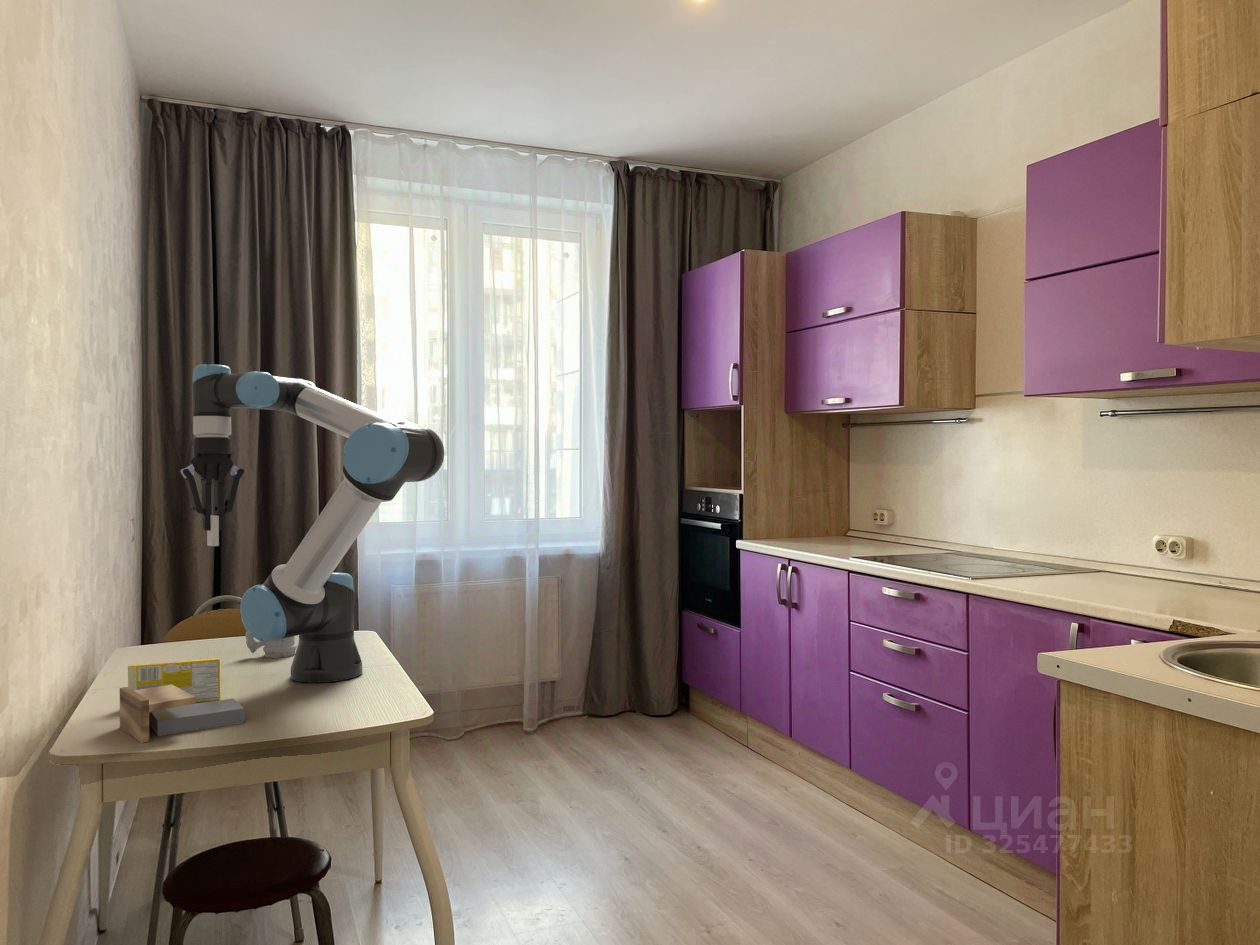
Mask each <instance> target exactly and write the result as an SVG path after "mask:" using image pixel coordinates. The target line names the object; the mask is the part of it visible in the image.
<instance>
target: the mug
mask: <svg viewBox="0 0 1260 945" xmlns="http://www.w3.org/2000/svg"><path fill="white" fill-rule="evenodd" d="M244 636H245V637H244V638H245V640H246V641H245V642H246V646H247V647H246V648H247V649H249V651H250V653H252V654H255V653H256V651H257V650H258V649H260V648H261V647H262V649H263V652H264V657H266V658H272V659H274V658H275V659H276V658H277V659H279V658H281V659H282V658H287V657H291V656H295V653H296V650H297V647H298V644H296V642H295V639H296V636H293V637H289V638H285V639H281V640H279V641H269V642H264V641H259V640H257V639H255V638H254V637H252V636H251V635H250V634H249V632H248V631H247V630H246V631H245V633H244Z"/></svg>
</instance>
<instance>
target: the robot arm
mask: <svg viewBox="0 0 1260 945" xmlns="http://www.w3.org/2000/svg"><path fill="white" fill-rule="evenodd" d="M231 371H232V369H231V368H230V366H227V365H223V364H212V363H211V364H206V363H205V364H198V365H196V366H194V368H193V372H192V374H193V375H192V383H191V387H192V409H193V410H192V416H193V417H192V421H193V424H192V426H193V427H192V428H193V429H192V430H193V431H192V433H193V435H194V436H195V437H194V438H193V440H192V446H193V447H192V450H193V454H192V460H191V461H190V465H188V466H186V467H185V468H181V469H180V470H179V474H180V475H181V476H182V478H183V479H184V482H185V485H186V490H187V493H188V497H189V500H190V504H191V505H190V506H191V507H192V508H191V509H192V512H193V513H195V514H199V515H201V517H202V530H203V531H205V532H207V535H206V537H207V538H206V543H207V546H208V547H219V546H220V541H219V540H220V535H219V534H220V533H219V532H220V531H223V530H224V515H226V514H227V513H231V512H233V508H234V505H235V500H236V496H237V493H238V487H239V483H240V480H241V478H242V477H243V475H244V473H245V470H244V469H243V468H240V467H238V466H237V465H235V464H234V463H235V462H234V461H233V458H232V439H231V438H230V437H229V436H231V435H232V409H255V410H269V411H270V410H271V411H280V412H281V411H282V412H287V413H290V414H292V415H294V416H296V417H299V418H301V419H304V420H306V421H308V422H310V423H312V424H316V425H318V426H319V427H322V428H324V429H326V430H329V431H331V432H333V433H335V434H337V435H339V436H342V437H345V438H347V439H346V441H345V443H344V446H343V451H342V453H344V456H343V457H342V462H343V465H342V468H341V474H342V477H343V480H342V481H341V483H340V484H339V486H338V487H337V488H336V490H335V492H334V493H333V494H332V495H331V497H330V499H329V500H328V501H327V503H326V505H325V507H324V508H323V510H322V511H321V512H320V514H318V517H317V518H316V520H315V521H314V523H313V524H312V526H311V527H310V529H309V530H308V531H307V533H306V534H305V536H304V537H303V539H302V541H301V542H300V543H299V545H298V546H297V548H296V549H295V551H294V552H293V553H292V556H290V558H289V560H288V561H287V563H285V564H278V565H277V566H276V567H274V569H273V570H272V571H271V573H270V574H269V575H268V577H267V578H266V580H265V581H264V583H262V584H255V585H253V586H252V587H250V588H248V589H247V590H246V591H245V592H243V595H242V597H241V601H240V605H239V606H240V607H239V610H240V616H241V617H240V618H241V622H242V625H243V627H244V628H245V630H246V631H248V632H249V634H250V635H251V636H252V637H254V638H255V640H256V641H264V642H269V641H279V640H281V639H285V638H289V637H293V636H294V637H296V636H298V644H297V648H296V650H295V655H293V660H292V663H291V666H290V679H291V680H292V681H295V682H299V683H330V682H339V681H345V680H350V679H353V678H356V677H358V676H361V675H362V674H363V661H362V659H361V658H362V657H361V656H360V653H359V650H358V649H359V648H358V647H357V644H356V641H355V586H354V579H353V576H352V575H351V574H349V573H347V572H346V573H345V572H334V571H335V569H336V568H337V567H338V565H339V564H340V562H341V561H342V560H343V558H344V557H345V555H346V554H347V552H348V551H349V549H350V548H351V547H352V545H353V544H354V543H355V541H356V539H357V538H358V536H359V535H360V534H361V532H362V531H363V529H364V528H365V526H366V525H367V524H368V522H369V521H370V519H371V518H372V517H373V515H374V513H375V512H376V510H378V508H379V506H380V505H381V504H382V503H387V502H391V501H392V500H394V499H395V497H396V495H397V494H398V493H399V492H400V490H401V489H402V487H403V486H404V485H405V483H415V482H424V481H426V480H428V479H431V478H432V477H434V476H435V475H436V474H437V473H438V471H439V470H440V469H441V467H442V466H443V463H444V461H445V459H444V458H445V447H444V444H443V441H442V440H441V438H440V436H439V435H438V434H437V433H436V432H435V431H434V430H432V429H431V428H429V427H426V426H424V425H420V424H417V423H415V422H411V421H409V420H406V419H403V420H399V421H397V420H394V419H392V418H390V417H387V416H385V415H383V414H380V413H378V412H377V411H374V410H370V409H368V408H366V407H363V406H361V405H359V404H356V403H354V402H351V401H349V400H347V399H344V398H342V397H340V396H337V395H335V394H332V393H330V392H328V391H326V390H324V389H322V388H321V389H320V388H318V387H317V385H316V384H315V383H314V382H312V381H310V380H306V379H303V378H300V377H296V378H295V377H294V378H293V377H284V376H278V375H277V376H276V375H272V374H270V373H269V372H268V371H266V372H265V371H255V370H251V371H249V372H248V371H247V372H237V373H232V372H231ZM195 472H196V475H198V476H199V478H200V484H201V497H200V493H199V490H198V486H197V483H196V479H195V476H194V475H195ZM229 472H230V473H229ZM228 474H229V475H230V478H229V482H228V485H227V489H226V494H225V490H224V486H225V485H224V484H225V478H226V477H227V475H228ZM212 483H213V484H212ZM212 485H213V510H214V511H213V513H214V514H213V515H212ZM224 495H225V496H224Z"/></svg>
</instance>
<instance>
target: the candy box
mask: <svg viewBox="0 0 1260 945" xmlns="http://www.w3.org/2000/svg"><path fill="white" fill-rule="evenodd" d="M127 681H128V682H127V687H128V688H130V689H132V690H139V689H146V688H152V687H159V686H165V685H174V686H176V687H178V688H180V689H181V690H183V691H185V692H187V693H189V694H191V695H193V696H195V697H196V703H204V702H211V701H218V700H221V658H220V657H217V658H215V657H214V658H206V659H205V658H204V659H202V658H201V659H193V660H192V659H191V660H178V661H167V662H155V663H152V662H151V663H140V664H130V665H128V666H127Z"/></svg>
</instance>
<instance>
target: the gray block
mask: <svg viewBox="0 0 1260 945" xmlns="http://www.w3.org/2000/svg"><path fill="white" fill-rule="evenodd" d="M242 723H245V707H244V706H242V705H241V704H240V703H239V702H238V701H237V700H236V699H235V698H226V699H220V700H218V701H207V702H196V704H191V705H186V706H180V707H174V708H168V709H162V710H156V711H151V712H150V724H149V726H151V728H152V730H153V731H154V732H155V734H156V735H157V737H160V736H166V735H172V734H178V733H185V732H191V731H198V730H199V731H200V730H204V729H210V728H211V729H212V728H216V727H217V728H218V727H222V726H223V727H224V726H229V725H235V724H236V725H237V724H242Z"/></svg>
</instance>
